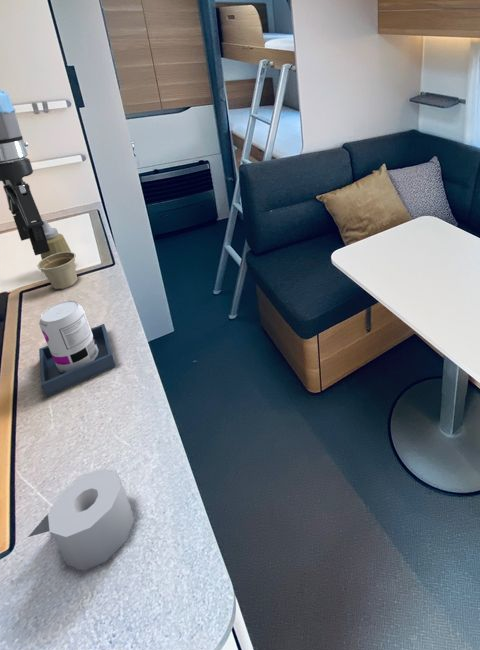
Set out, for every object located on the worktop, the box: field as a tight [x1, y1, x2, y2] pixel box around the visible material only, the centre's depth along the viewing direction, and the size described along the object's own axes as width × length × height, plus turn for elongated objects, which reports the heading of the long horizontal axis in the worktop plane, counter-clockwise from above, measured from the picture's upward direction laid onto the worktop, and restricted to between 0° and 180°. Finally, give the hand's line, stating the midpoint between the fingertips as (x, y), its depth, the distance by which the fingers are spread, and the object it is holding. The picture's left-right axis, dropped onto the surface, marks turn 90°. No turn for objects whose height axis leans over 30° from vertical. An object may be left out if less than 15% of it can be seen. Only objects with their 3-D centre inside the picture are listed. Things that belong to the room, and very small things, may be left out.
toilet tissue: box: [27, 467, 135, 572], centre depth 63 cm, size 9×13×9 cm
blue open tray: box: [38, 323, 117, 398], centre depth 97 cm, size 13×13×4 cm
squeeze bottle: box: [40, 220, 72, 260], centre depth 131 cm, size 8×8×18 cm
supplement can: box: [38, 300, 99, 373], centre depth 95 cm, size 8×8×15 cm
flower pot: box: [36, 251, 78, 290], centre depth 125 cm, size 9×9×9 cm
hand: (35, 245), depth 99 cm, fingers open, 13 cm apart
